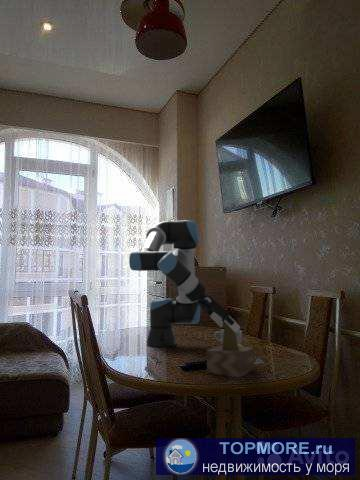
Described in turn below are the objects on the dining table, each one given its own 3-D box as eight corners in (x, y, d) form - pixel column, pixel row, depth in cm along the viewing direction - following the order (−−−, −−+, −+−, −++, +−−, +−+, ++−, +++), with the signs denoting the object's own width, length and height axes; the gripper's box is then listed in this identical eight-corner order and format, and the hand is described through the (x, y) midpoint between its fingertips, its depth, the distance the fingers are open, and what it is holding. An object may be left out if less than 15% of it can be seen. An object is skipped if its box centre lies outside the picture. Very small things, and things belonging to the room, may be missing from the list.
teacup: (241, 344, 187) (241, 328, 187) (243, 349, 176) (242, 332, 177) (214, 344, 188) (214, 328, 189) (214, 348, 177) (213, 331, 178)
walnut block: (207, 372, 134) (206, 350, 135) (223, 364, 145) (223, 344, 146) (239, 377, 127) (238, 354, 128) (254, 369, 138) (253, 347, 138)
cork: (220, 347, 140) (219, 318, 141) (235, 346, 140) (235, 317, 141) (224, 350, 134) (223, 320, 135) (240, 350, 134) (239, 319, 135)
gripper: (176, 293, 146) (211, 330, 148) (195, 297, 122) (238, 340, 124) (188, 279, 147) (223, 316, 150) (210, 281, 124) (251, 324, 126)
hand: (230, 327), depth 137 cm, fingers open, 13 cm apart
